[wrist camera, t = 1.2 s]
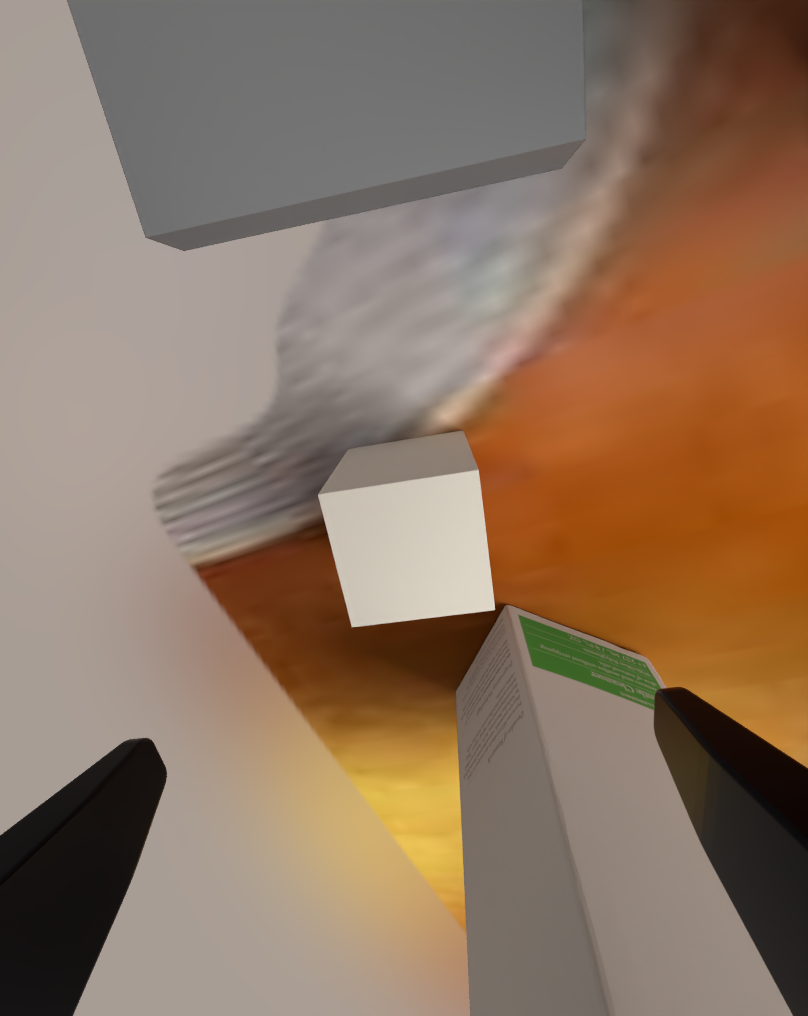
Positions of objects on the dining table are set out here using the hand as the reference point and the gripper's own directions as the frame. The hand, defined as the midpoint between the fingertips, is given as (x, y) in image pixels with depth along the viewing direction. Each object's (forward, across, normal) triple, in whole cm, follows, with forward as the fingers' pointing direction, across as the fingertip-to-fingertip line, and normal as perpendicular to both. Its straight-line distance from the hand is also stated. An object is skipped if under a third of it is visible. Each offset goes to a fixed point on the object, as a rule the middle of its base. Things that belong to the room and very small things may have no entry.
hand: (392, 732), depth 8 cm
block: (+13, 0, 0) cm, 13 cm away
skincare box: (+13, -5, +11) cm, 18 cm away
